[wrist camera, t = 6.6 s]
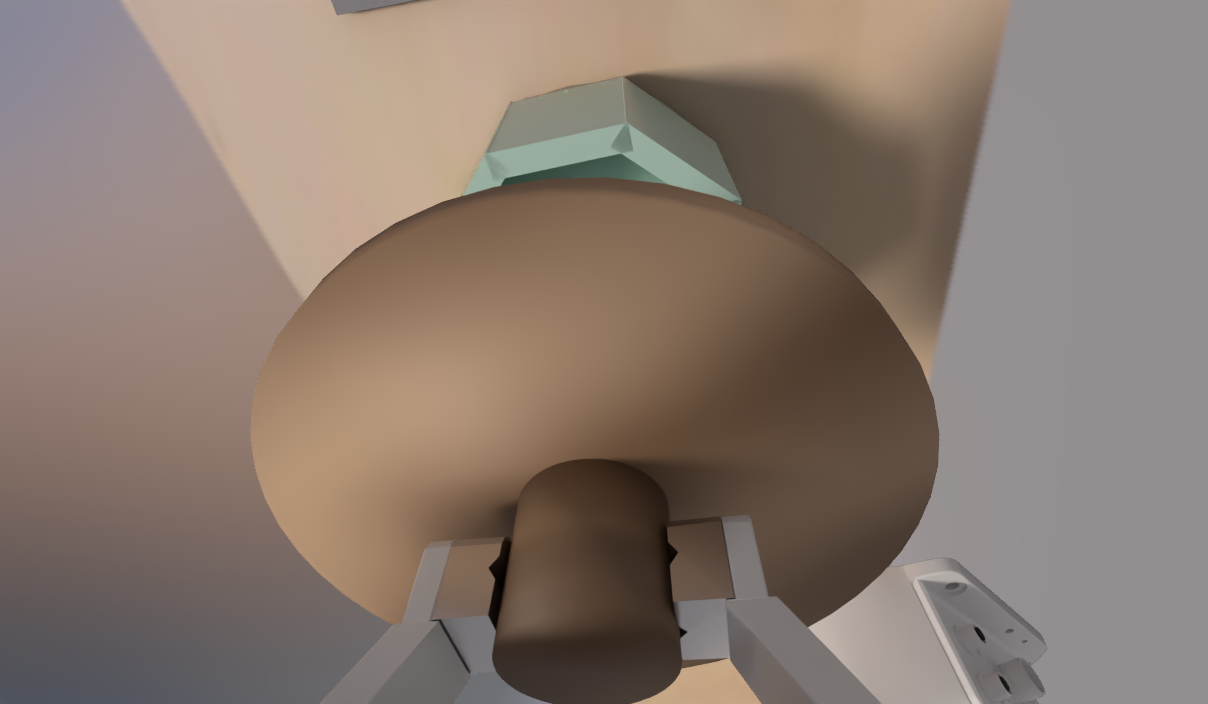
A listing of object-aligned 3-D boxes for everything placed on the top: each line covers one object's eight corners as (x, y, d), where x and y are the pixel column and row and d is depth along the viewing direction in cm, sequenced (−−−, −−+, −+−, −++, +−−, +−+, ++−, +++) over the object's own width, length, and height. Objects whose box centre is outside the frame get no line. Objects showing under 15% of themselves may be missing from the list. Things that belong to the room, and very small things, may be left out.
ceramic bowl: (771, 178, 24) (812, 247, 19) (629, 348, 29) (633, 437, 24) (551, 23, 20) (534, 59, 16) (434, 245, 26) (394, 324, 21)
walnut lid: (1070, 414, 11) (1241, 600, 8) (665, 689, 18) (675, 850, 15) (422, -23, 7) (281, 20, 4) (208, 536, 14) (91, 711, 11)
